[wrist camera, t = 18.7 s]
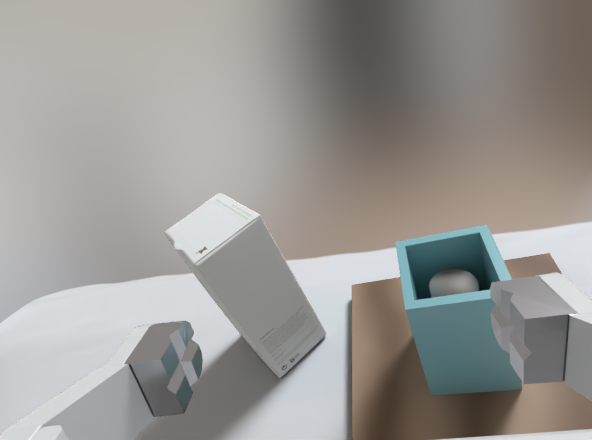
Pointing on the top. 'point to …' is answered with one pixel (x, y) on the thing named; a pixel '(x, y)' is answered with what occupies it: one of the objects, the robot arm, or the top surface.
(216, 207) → the skincare box
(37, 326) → the top surface
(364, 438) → the base
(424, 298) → the teal pencil cup
